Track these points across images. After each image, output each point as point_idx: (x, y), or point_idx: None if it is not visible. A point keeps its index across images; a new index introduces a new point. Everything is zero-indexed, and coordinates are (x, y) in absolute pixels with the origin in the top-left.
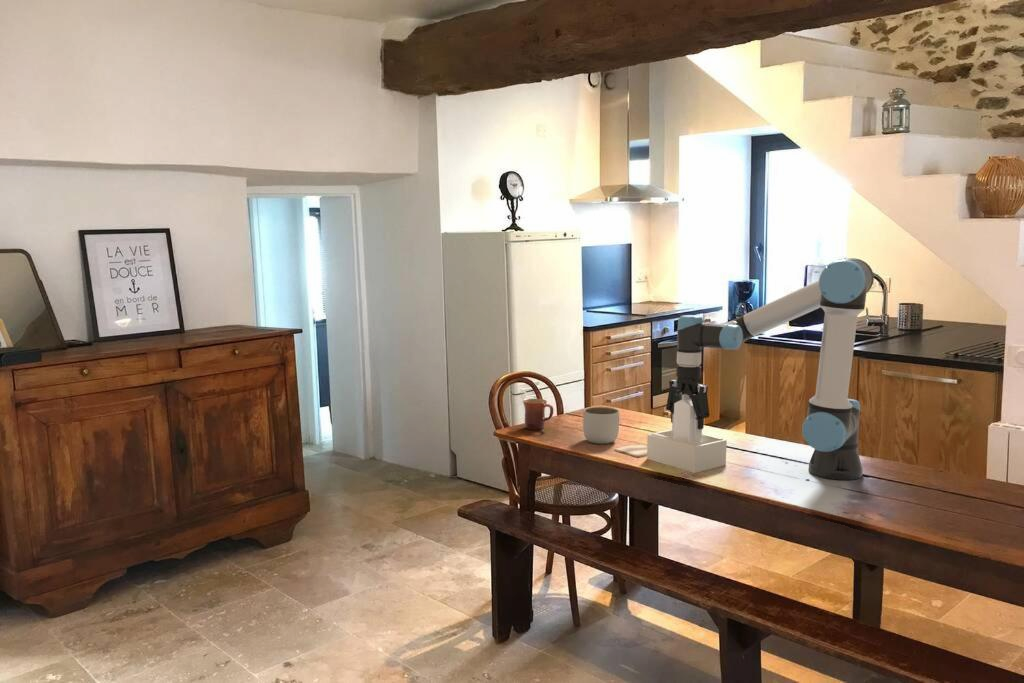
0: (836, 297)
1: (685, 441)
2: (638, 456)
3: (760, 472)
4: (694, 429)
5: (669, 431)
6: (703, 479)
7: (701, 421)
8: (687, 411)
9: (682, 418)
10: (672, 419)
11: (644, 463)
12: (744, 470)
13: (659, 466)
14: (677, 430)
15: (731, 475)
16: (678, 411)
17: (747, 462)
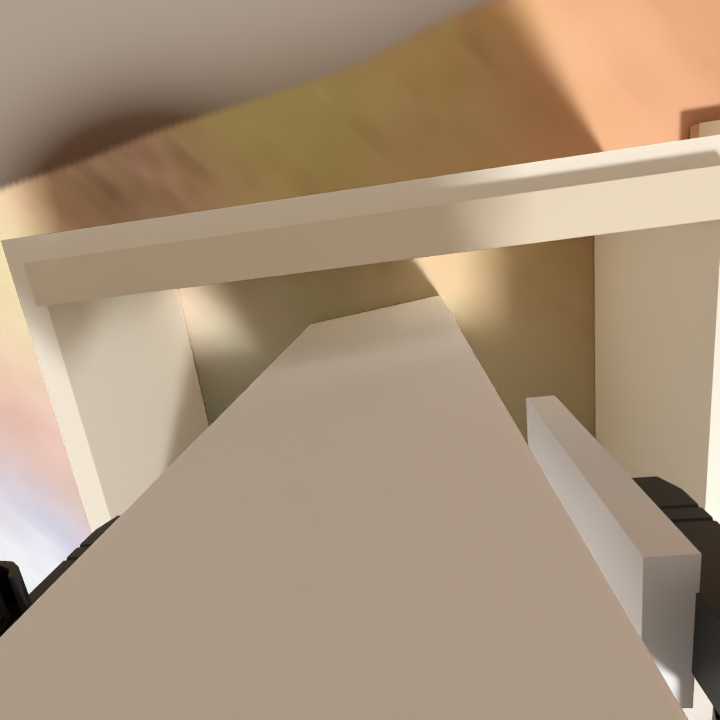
0: None
1: (187, 278)
2: (694, 126)
3: (30, 571)
4: None
5: (700, 484)
6: (9, 190)
7: None
8: (69, 617)
9: (295, 471)
10: (636, 485)
11: (525, 58)
12: (89, 533)
13: (394, 118)
14: (407, 369)
15: (30, 405)
16: (399, 539)
17: None
